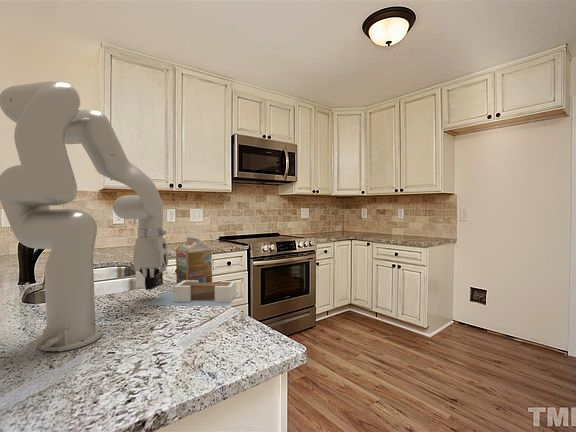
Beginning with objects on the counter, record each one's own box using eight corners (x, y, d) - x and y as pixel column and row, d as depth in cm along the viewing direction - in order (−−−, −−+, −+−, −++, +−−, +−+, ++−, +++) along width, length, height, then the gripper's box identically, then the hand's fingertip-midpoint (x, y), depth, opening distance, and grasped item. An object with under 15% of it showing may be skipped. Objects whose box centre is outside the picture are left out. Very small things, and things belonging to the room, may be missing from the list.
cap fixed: (230, 302, 96) (230, 287, 96) (214, 302, 97) (214, 286, 97) (236, 295, 104) (236, 281, 104) (221, 295, 104) (221, 281, 104)
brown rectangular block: (227, 300, 98) (227, 285, 98) (180, 300, 100) (180, 285, 99) (230, 297, 102) (230, 282, 102) (184, 296, 103) (184, 282, 103)
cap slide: (189, 301, 97) (189, 286, 97) (174, 301, 98) (173, 286, 97) (198, 294, 105) (198, 280, 105) (184, 294, 105) (183, 280, 105)
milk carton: (176, 283, 126) (175, 238, 125) (199, 278, 133) (198, 236, 133) (188, 287, 118) (187, 239, 118) (212, 282, 126) (211, 237, 125)
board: (228, 309, 93) (228, 305, 93) (144, 308, 95) (144, 304, 95) (238, 295, 107) (238, 292, 107) (165, 294, 109) (165, 292, 109)
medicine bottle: (152, 290, 115) (151, 259, 114) (135, 290, 116) (134, 259, 116) (163, 285, 122) (162, 256, 121) (147, 285, 123) (146, 256, 123)
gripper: (177, 233, 104) (176, 286, 104) (135, 233, 105) (135, 286, 105) (166, 234, 97) (166, 291, 96) (122, 234, 98) (122, 291, 98)
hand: (150, 288), depth 101 cm, fingers closed
